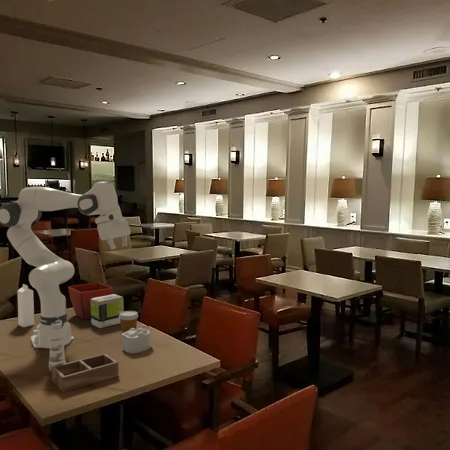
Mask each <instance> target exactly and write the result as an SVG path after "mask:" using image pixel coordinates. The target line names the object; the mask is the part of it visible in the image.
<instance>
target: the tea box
mask: <svg viewBox="0 0 450 450" xmlns="http://www.w3.org/2000/svg"><path fill="white" fill-rule="evenodd" d="M124 301H125V300H124V297H123V296H122V295H118V294H115V293H111V295H106V296H101V297H96V298H91V318H90V323H91V325H93V326H94V327H96V328H99V329H102V328H106V327H110V326H115V325H118V324H121V323H120V318H119V315H120V313H121V312H124V311H125V307H124V305H125V304H124V303H125V302H124Z"/></svg>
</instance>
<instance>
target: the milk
mask: <svg viewBox="0 0 450 450" xmlns="http://www.w3.org/2000/svg"><path fill="white" fill-rule="evenodd" d="M34 301H35V300H34V290H33V289H31V288H29V286H28V285H27V284H25V283H23V284H22V287H20V288H18V290H17V312H18V313H17V315H18V316H17V319H18V326H20V327H22V328H26V327H30V326H34V325H35V307H34V306H35V305H34Z"/></svg>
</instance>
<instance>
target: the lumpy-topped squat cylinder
mask: <svg viewBox="0 0 450 450" xmlns="http://www.w3.org/2000/svg"><path fill="white" fill-rule="evenodd" d="M150 348H151V331H150V330H149V329H145V328H143V327H139V328H136V329H135V328H131V329H130V330H129V331H127V332H124V333H122V332H121V350H122V351H124V352H126V353H127V354H137V353H141V352H145V351H147V350H148V349H150Z"/></svg>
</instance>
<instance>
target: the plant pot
mask: <svg viewBox="0 0 450 450" xmlns="http://www.w3.org/2000/svg"><path fill="white" fill-rule="evenodd" d="M68 293H69V297H70V301H71V304H72V307H73V311H74V313H75V315H76V316H77V317H78V318H81V319H82V320H89V319H90V320H91V298H96V297H101V296H106V295H112V294H113V287H111V286H108V285H106V284H104V283H101V282H93V283H91V282H90V283H84V284H77V285H70V286H68Z"/></svg>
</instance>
